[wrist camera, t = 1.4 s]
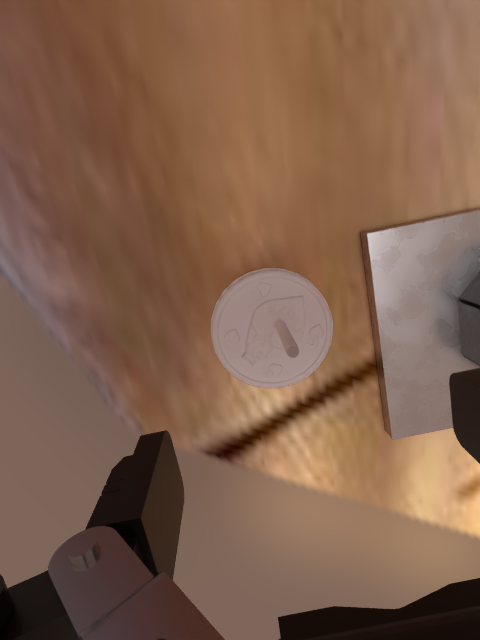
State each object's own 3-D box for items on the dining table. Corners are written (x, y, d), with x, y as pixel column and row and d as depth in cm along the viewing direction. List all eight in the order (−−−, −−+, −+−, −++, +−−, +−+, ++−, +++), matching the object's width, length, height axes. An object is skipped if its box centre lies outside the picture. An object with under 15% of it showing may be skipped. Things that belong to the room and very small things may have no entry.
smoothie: (319, 289, 31) (393, 350, 17) (263, 353, 32) (291, 458, 18) (252, 233, 30) (275, 251, 16) (196, 302, 31) (174, 374, 17)
